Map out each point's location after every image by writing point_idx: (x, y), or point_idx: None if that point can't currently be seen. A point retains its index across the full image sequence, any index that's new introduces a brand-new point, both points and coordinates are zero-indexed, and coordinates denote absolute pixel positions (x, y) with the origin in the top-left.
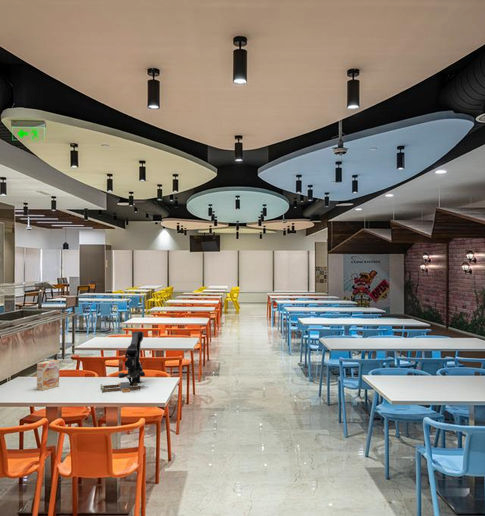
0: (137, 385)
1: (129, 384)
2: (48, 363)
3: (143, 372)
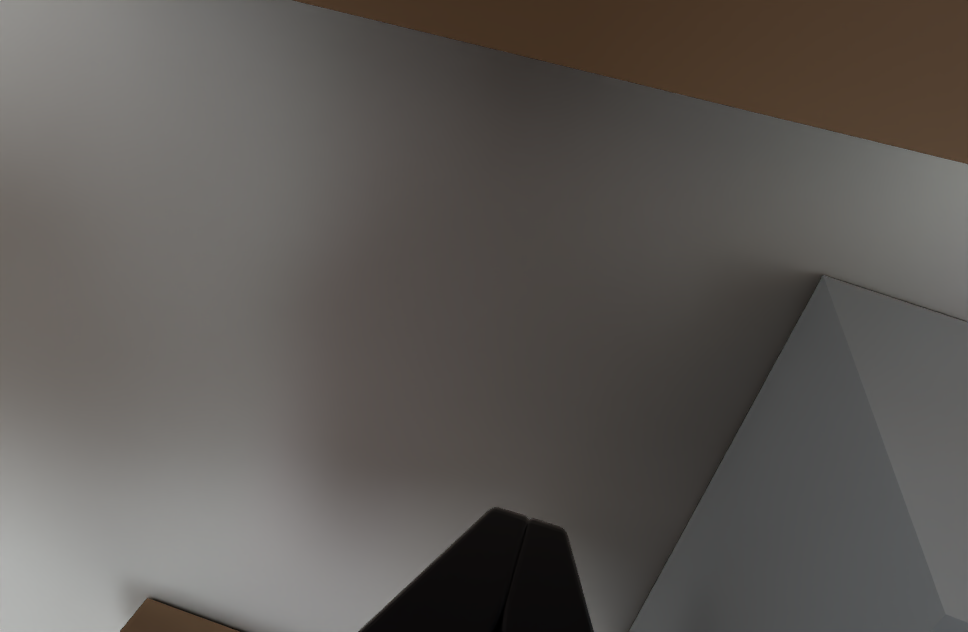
0: (154, 613)
1: (920, 524)
2: None
3: None
